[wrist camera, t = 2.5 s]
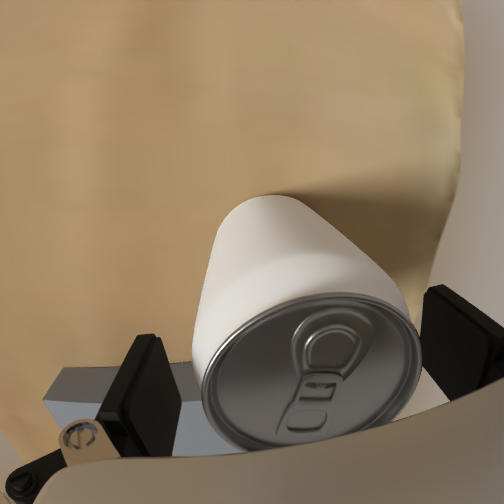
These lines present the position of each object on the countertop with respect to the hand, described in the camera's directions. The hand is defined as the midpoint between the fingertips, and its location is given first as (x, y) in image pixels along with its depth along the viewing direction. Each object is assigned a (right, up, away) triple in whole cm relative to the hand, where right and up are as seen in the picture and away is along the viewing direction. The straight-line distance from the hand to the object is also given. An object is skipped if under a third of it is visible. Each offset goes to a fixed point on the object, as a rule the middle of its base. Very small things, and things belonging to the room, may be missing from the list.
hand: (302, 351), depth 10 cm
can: (-1, +4, +8) cm, 9 cm away
